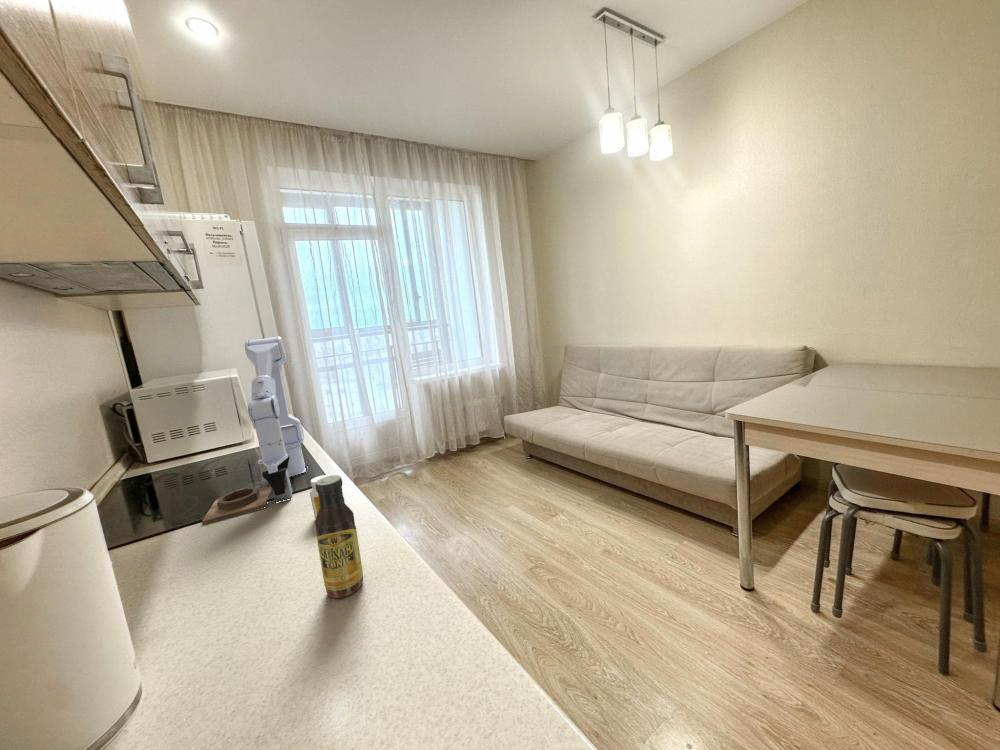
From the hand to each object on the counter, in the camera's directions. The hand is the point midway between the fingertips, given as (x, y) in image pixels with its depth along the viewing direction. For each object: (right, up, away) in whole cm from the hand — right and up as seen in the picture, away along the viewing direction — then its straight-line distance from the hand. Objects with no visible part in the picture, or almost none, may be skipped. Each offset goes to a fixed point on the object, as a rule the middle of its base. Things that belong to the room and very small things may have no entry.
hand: (282, 489), depth 107 cm
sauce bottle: (+33, -6, -39) cm, 52 cm away
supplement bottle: (+18, -3, -12) cm, 22 cm away
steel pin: (0, -3, +1) cm, 3 cm away
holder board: (-11, -4, 0) cm, 12 cm away
